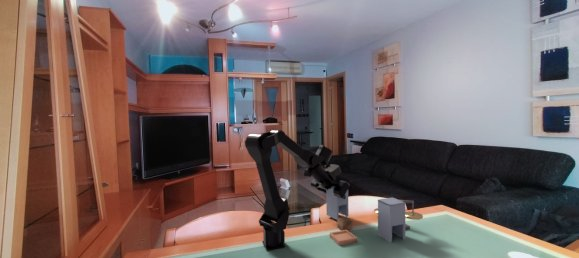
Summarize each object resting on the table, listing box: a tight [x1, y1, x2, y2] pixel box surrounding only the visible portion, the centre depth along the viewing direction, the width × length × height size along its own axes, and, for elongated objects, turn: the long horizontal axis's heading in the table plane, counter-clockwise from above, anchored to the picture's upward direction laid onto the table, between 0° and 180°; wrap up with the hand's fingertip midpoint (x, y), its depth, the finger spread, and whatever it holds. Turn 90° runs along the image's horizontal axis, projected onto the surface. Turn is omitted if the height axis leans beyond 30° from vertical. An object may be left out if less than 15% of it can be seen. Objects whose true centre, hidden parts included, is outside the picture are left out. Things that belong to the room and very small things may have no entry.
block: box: [336, 216, 353, 232], centre depth 105 cm, size 4×4×4 cm
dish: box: [329, 230, 358, 246], centre depth 97 cm, size 7×7×2 cm
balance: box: [373, 199, 424, 231], centre depth 107 cm, size 6×24×13 cm, turn 19°
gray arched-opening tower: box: [377, 197, 406, 243], centre depth 98 cm, size 6×6×13 cm
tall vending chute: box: [325, 188, 349, 221], centre depth 116 cm, size 6×6×13 cm
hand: (339, 196), depth 117 cm, fingers closed on tall vending chute, 6 cm apart
